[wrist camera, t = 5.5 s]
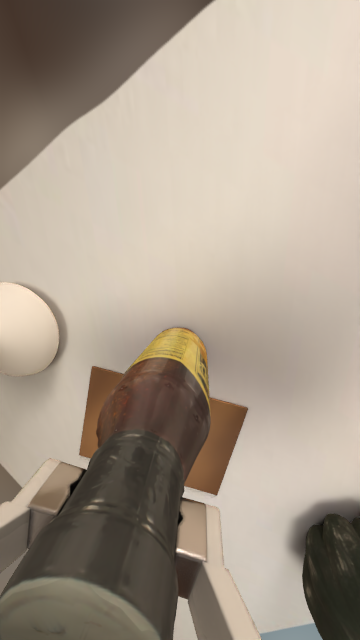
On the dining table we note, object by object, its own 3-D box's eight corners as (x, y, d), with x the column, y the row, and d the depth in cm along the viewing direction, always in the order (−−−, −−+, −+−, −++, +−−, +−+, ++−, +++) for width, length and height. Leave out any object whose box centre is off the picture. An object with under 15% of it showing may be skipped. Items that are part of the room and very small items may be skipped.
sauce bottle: (196, 382, 24) (167, 797, 5) (146, 365, 25) (-66, 695, 5) (215, 332, 23) (279, 648, 3) (162, 314, 23) (-56, 514, 4)
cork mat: (247, 407, 25) (248, 409, 25) (216, 493, 29) (216, 495, 28) (93, 365, 26) (91, 366, 26) (80, 453, 30) (79, 455, 29)
